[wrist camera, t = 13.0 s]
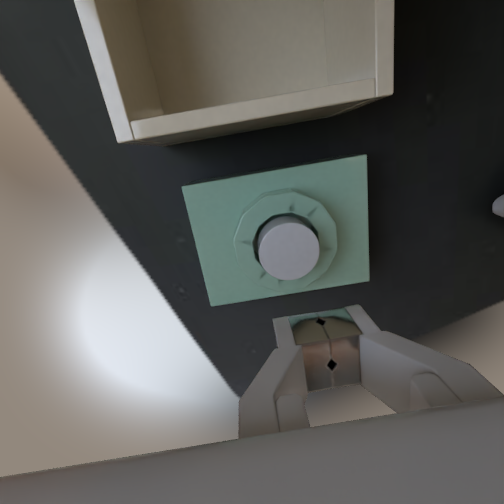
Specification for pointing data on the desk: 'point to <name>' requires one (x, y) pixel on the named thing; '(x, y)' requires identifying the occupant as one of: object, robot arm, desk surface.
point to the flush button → (287, 248)
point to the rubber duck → (499, 206)
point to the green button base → (274, 206)
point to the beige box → (235, 63)
